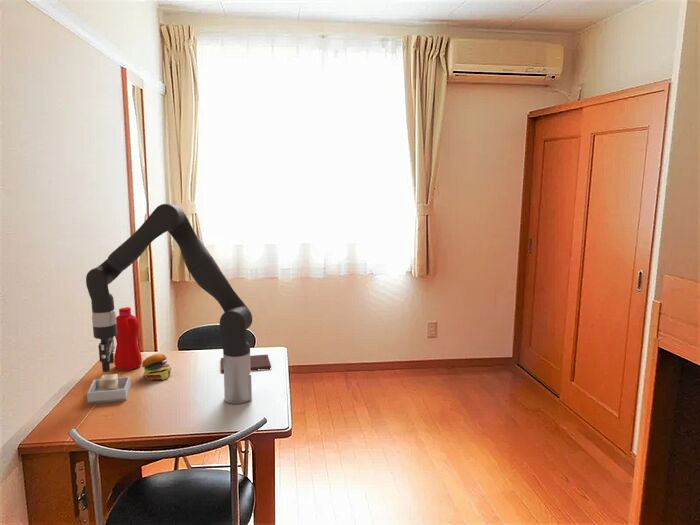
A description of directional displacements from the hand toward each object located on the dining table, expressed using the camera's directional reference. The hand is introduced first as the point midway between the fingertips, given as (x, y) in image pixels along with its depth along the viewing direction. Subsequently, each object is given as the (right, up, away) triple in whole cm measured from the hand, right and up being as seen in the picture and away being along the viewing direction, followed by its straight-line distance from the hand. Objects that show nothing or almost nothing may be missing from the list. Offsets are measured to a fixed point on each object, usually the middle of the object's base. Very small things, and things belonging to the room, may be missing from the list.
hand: (108, 367), depth 181 cm
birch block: (0, -10, +2) cm, 10 cm away
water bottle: (-6, -6, +29) cm, 30 cm away
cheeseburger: (+10, -8, +20) cm, 23 cm away
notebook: (+42, -6, +33) cm, 54 cm away
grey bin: (0, -10, +2) cm, 11 cm away
